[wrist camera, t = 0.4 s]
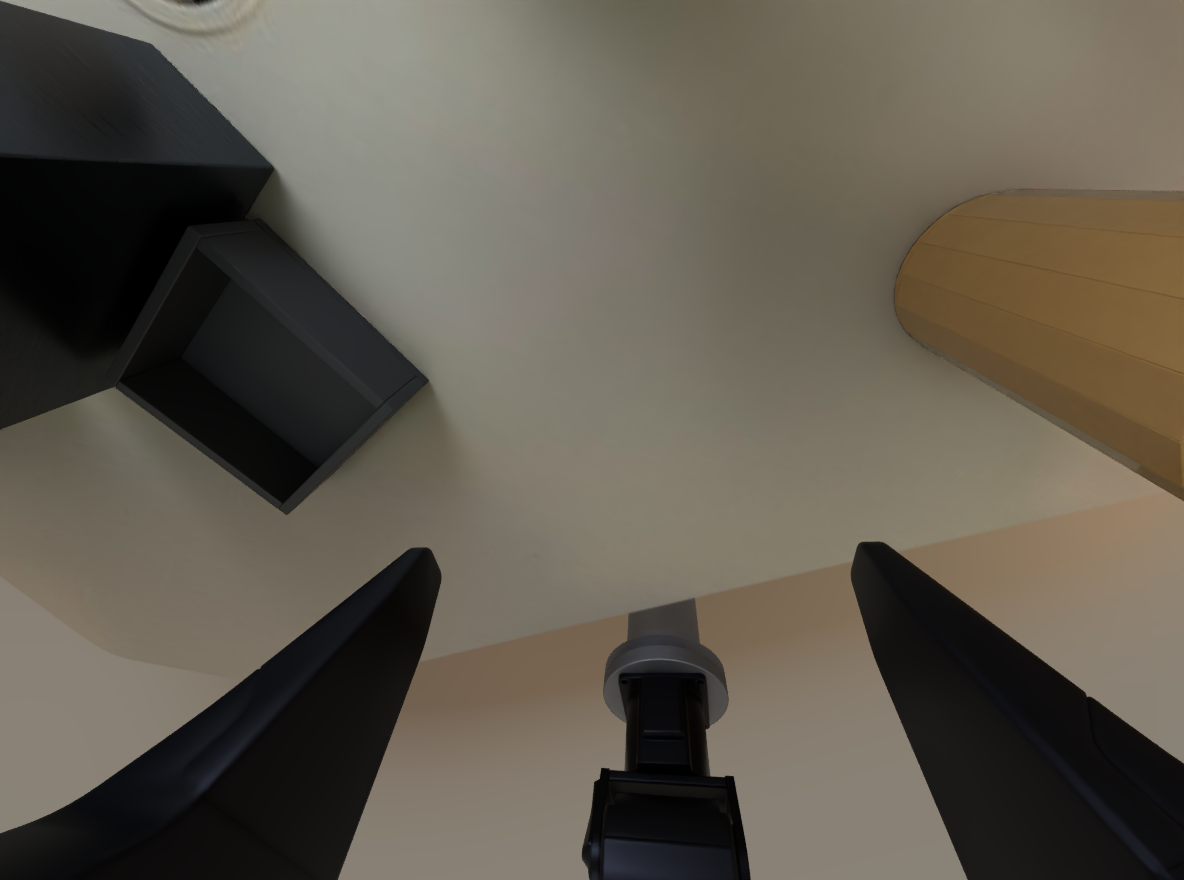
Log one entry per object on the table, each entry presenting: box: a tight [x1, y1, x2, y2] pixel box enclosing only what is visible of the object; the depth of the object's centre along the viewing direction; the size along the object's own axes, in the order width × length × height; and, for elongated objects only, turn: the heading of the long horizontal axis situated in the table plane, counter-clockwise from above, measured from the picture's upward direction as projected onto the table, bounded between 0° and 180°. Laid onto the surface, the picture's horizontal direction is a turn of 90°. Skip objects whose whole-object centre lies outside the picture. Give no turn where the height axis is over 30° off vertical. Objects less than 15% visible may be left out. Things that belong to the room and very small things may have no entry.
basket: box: [104, 219, 428, 515], centre depth 24 cm, size 11×11×4 cm
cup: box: [894, 189, 1184, 501], centre depth 14 cm, size 7×7×13 cm
